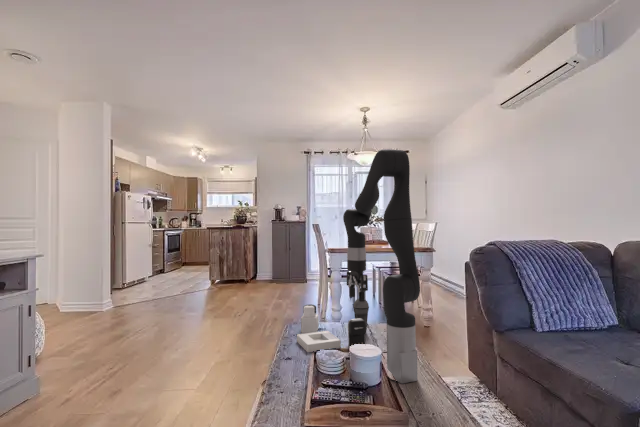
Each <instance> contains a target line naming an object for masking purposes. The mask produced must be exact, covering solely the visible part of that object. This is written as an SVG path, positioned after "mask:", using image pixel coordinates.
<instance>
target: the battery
mask: <svg viewBox="0 0 640 427" xmlns="http://www.w3.org/2000/svg"><path fill="white" fill-rule="evenodd" d="M365 333H366V334H367V330H366V323H365V321H364V320H363V319H355V318H352V319H349V320H348V322H347V339H348V342H347V343H348V348H349V346H351V345H354V344H365V345H366V334H365Z"/></svg>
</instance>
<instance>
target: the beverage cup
mask: <svg viewBox="0 0 640 427" xmlns="http://www.w3.org/2000/svg"><path fill="white" fill-rule="evenodd" d="M357 293H358V296H359V290H358V289H357ZM352 307H353V308H352V309H353V312H354V319H363V320H364V321H365V323H366V331H368V330H367V328H368V315H369V310H370V309H369V308H370V306H369V303H368V300H366V299H365V301H362V302H360V301H359V298H357V299H355V301H354V303H353V306H352ZM366 334H367V332H366V333H365V335H366Z"/></svg>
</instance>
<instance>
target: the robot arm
mask: <svg viewBox="0 0 640 427" xmlns="http://www.w3.org/2000/svg"><path fill="white" fill-rule="evenodd" d="M410 175H411V174H410V158H409V155H408V153H407V152H406V151H405V150H402V149H393V148H392V149H390V148H387V149H386V148H383V149H379V150H378V151H377V152H376V154H375V155H374V157H373V160H372V162H371V166H370V167H369V171H368V174H367V176H366V180H365V183H364V186H363V188H362V190H361V192H360V193H359V195H358V197H357V199H356V200H355V202H354V207H355V208H349V209H346V210H345V211H344V213H343V217H342V219H343V225H344V227H345V231H346V235H347V252H346V254H347V256H346V258H347V260H346V261H347V262H346V264H347V266H346V269H347V271H346V286H348V288H349V295H348V296H349V298H355V297H356V287H357V291H358V290H359V295H358V299H359V301H360V302H362V301H365V300H366V298H365V297H366V296H365V293H366V292H367V291H368V290H369V283H368V282H369V281H368V279H369V278H368V275H367V274H366V275H365V274H364V272H365V271H366V270H367V251H366V235H365V233H363V232H359V231H357V230H356V228H355V227H366V226H367V225H368V224H369V223H370V220H371V215H372V212H373V209H374V207H375V206H376V204H377V203H378V201H379V198H380V189H379V181H380V180H381V179H382V178H383V177H386V178H387V177H388V178H389V177H391V178H393V179H394V182H393V184H394V185H393V193H392V195H391V198H390V199H389V202H388V204H387V206H386V208H385V211H384V213H383V228H384V229H383V230H384V235H385V239H386V241H387V243H388V244H389V246H390V248H391V249H392V251H393V253H394V255H395V256H396V259H397V263H398V271H399V272H398V273H399V274H392V275H388V276H387V277H386V278H385V280H384V281H383V286H382V296H383V312H384V315H385V319H386V370H387V369H388V370H389V371H390V372H391V373H392V374H393V376H394V377H395V379H396V380H397V381H398V382H397V383H399V384H400V385H401V384H402V385H403V384H407V383H413V382H417V381H419V379H418V373H419V372H418V350H416V347H417V345H416V341H417V340H416V317H415V315H414V314H413V313H410V312H407V311H406V308H405V304H406V303H410V302H414V301H417V300H418V298H419V297H420V293H421V284H420V277H419V272H418V271H419V270H418V266H417V260H416V254H415V245H414V236H413V234H414V233H413V230H414V229H413V220H412V219H413V218H412V212H411V211H412V210H411V209H412V208H411V200H410V199H411V198H410V197H411V196H410Z"/></svg>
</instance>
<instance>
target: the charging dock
mask: <svg viewBox="0 0 640 427" xmlns="http://www.w3.org/2000/svg"><path fill="white" fill-rule="evenodd" d="M296 343H298V344H299V345H300V346H301V347H302V349H304V350H305V351H306V352H307V353H314V352H317V351H316V350H320V349H329V348H336V349H340V348H341V339H340V338H338V337H337V336H336V335H334V334H332V332H330V331H329V330H324V331H317V332H313V333H299V334H296ZM329 350H330V349H329ZM313 351H314V352H313Z"/></svg>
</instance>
